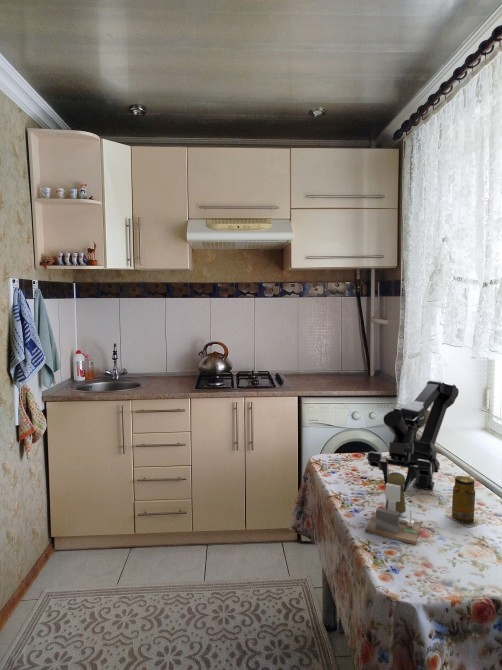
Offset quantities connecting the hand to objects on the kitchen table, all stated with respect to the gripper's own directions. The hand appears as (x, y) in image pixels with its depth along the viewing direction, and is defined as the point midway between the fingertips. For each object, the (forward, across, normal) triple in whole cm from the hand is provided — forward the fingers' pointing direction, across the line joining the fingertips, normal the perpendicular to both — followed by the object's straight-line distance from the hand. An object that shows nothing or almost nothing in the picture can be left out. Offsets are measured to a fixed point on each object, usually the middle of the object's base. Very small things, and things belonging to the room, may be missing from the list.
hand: (395, 489), depth 136 cm
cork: (+4, 0, +6) cm, 7 cm away
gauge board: (+11, +1, 0) cm, 11 cm away
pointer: (+9, +5, +1) cm, 11 cm away
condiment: (0, +19, +12) cm, 22 cm away
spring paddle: (+8, +2, +2) cm, 8 cm away
